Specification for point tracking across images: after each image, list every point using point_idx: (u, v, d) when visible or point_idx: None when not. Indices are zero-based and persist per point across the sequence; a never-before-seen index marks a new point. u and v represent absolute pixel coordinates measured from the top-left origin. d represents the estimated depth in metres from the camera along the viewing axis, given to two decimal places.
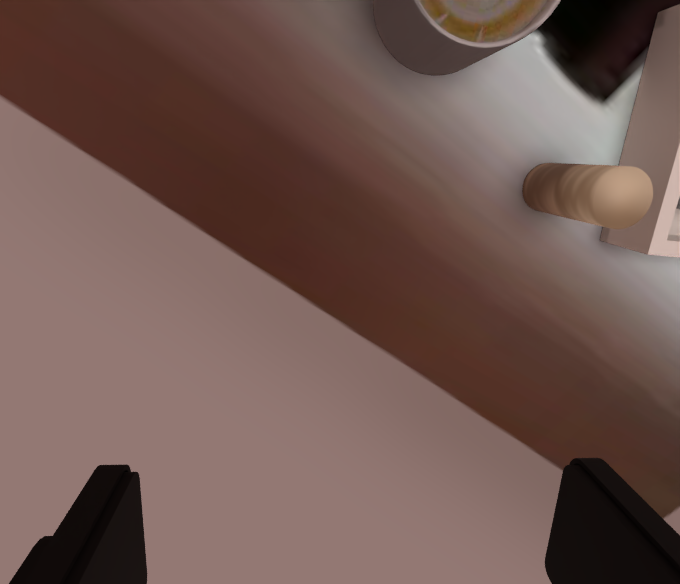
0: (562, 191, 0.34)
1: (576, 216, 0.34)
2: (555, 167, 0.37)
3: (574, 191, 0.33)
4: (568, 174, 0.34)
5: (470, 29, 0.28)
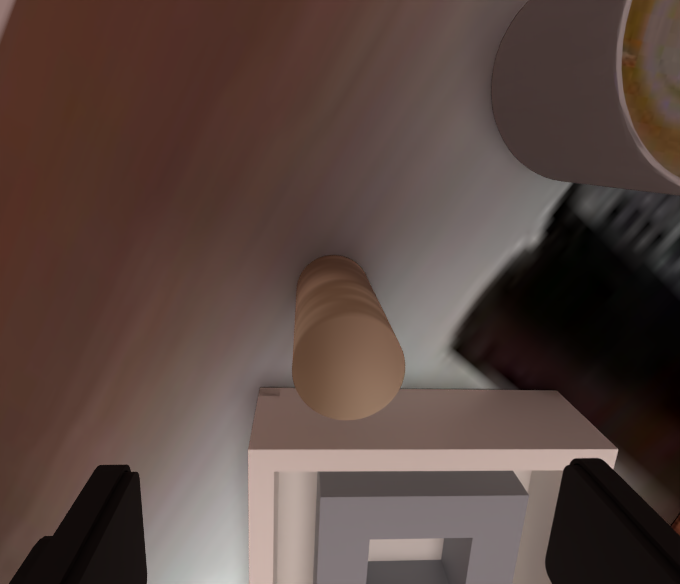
0: (343, 286, 0.20)
1: (303, 312, 0.19)
2: (370, 285, 0.23)
3: (347, 296, 0.18)
4: (369, 292, 0.20)
5: (633, 32, 0.15)
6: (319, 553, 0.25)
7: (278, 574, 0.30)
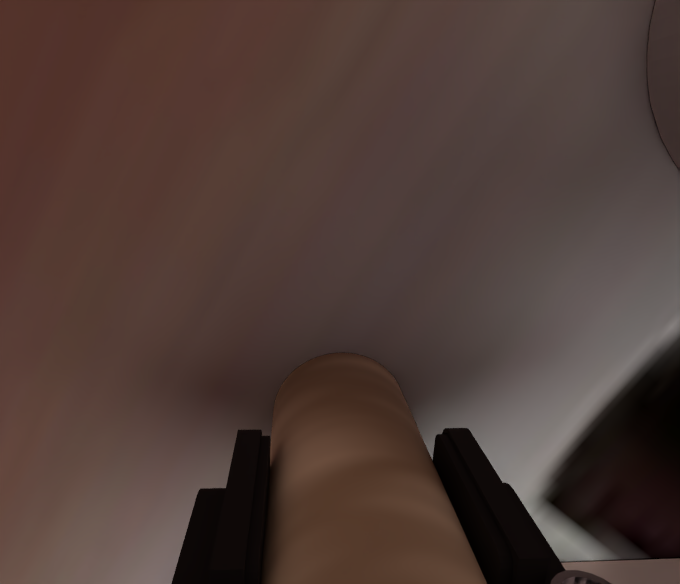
0: (377, 501, 0.08)
1: None
2: (419, 435, 0.11)
3: (396, 572, 0.07)
4: (436, 498, 0.09)
5: None
6: None
7: None
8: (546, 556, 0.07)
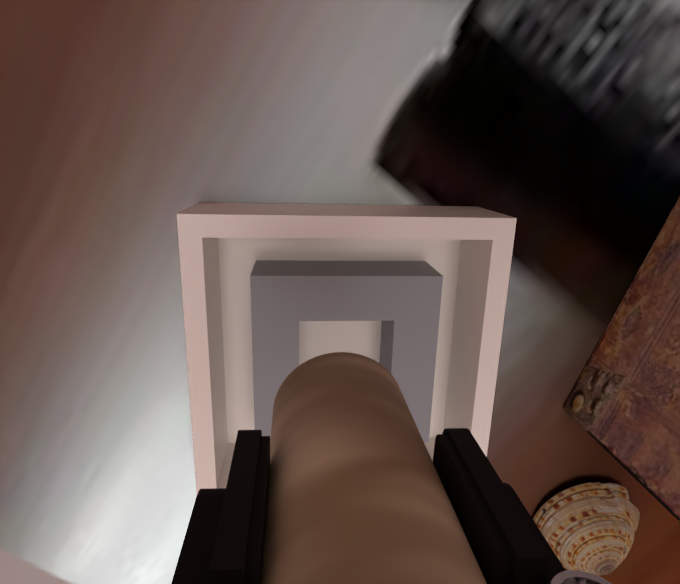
0: (375, 500, 0.08)
1: None
2: (418, 434, 0.11)
3: (396, 571, 0.07)
4: (435, 497, 0.09)
5: None
6: (253, 335, 0.27)
7: (226, 391, 0.33)
8: (546, 556, 0.07)
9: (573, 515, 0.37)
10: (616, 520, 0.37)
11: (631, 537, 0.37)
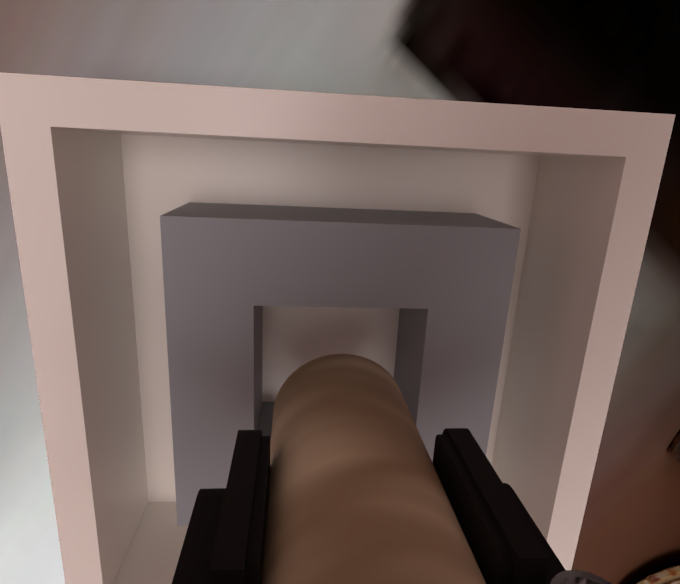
0: (377, 503, 0.08)
1: None
2: (419, 436, 0.11)
3: (396, 574, 0.07)
4: (435, 499, 0.09)
5: None
6: (168, 330, 0.15)
7: (144, 421, 0.20)
8: (546, 556, 0.07)
9: None
10: None
11: None
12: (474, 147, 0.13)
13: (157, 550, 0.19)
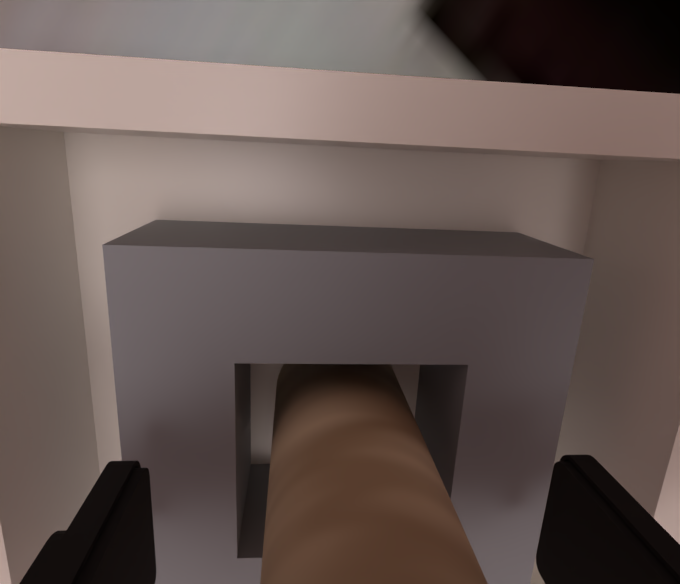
0: (365, 451, 0.09)
1: (281, 527, 0.08)
2: (406, 404, 0.13)
3: (381, 502, 0.08)
4: (417, 451, 0.10)
5: None
6: (119, 397, 0.11)
7: None
8: None
9: None
10: None
11: None
12: (543, 149, 0.09)
13: None
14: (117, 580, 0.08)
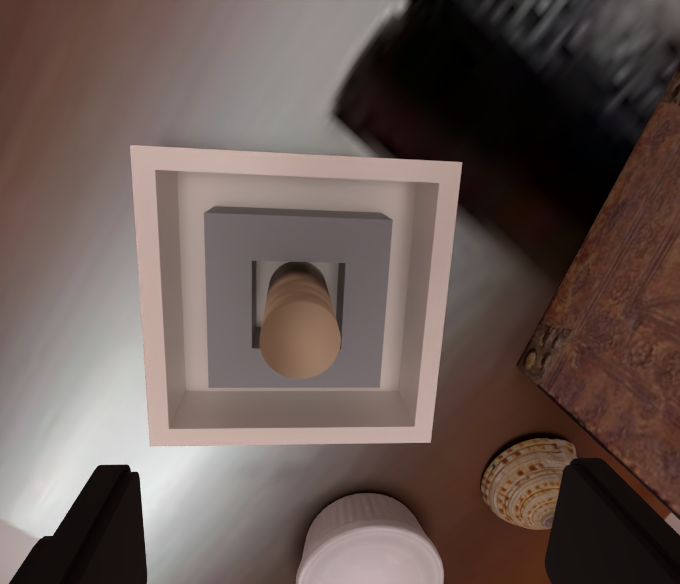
0: (299, 283, 0.27)
1: (269, 302, 0.26)
2: (324, 283, 0.30)
3: (301, 290, 0.25)
4: (320, 288, 0.27)
5: None
6: (206, 273, 0.28)
7: (184, 338, 0.33)
8: None
9: (520, 469, 0.38)
10: None
11: None
12: (361, 178, 0.27)
13: (194, 410, 0.32)
14: None
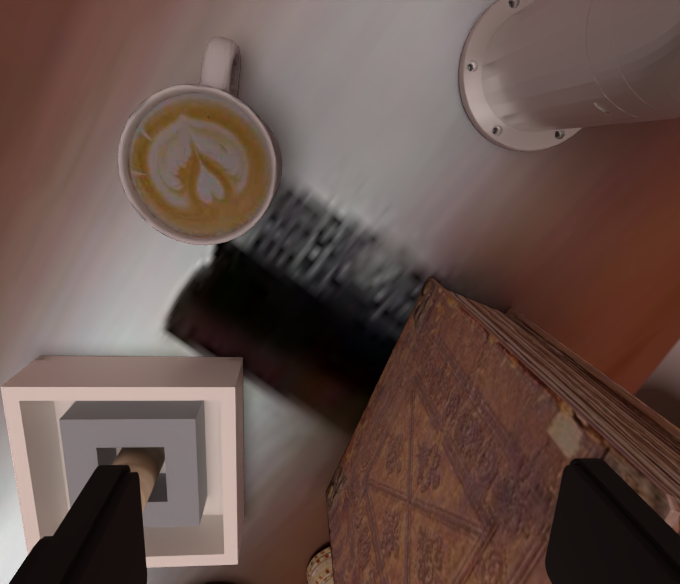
0: None
1: None
2: (154, 456, 0.42)
3: None
4: (139, 471, 0.39)
5: (141, 163, 0.31)
6: (64, 457, 0.40)
7: (65, 483, 0.45)
8: None
9: (327, 568, 0.50)
10: None
11: None
12: (164, 400, 0.39)
13: None
14: None
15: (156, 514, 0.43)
